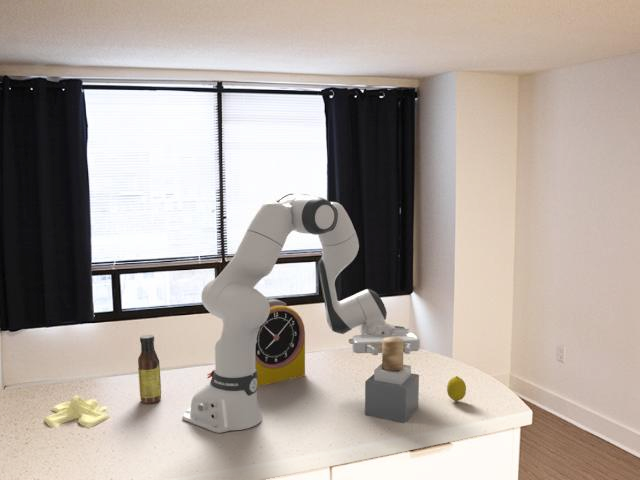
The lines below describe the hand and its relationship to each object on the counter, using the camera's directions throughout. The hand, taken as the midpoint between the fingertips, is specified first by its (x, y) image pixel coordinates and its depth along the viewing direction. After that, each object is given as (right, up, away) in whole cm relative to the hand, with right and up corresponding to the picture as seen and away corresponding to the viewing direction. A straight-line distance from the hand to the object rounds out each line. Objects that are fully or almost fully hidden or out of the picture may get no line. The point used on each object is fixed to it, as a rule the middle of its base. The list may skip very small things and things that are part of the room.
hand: (391, 351), depth 177 cm
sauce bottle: (-72, -16, +9) cm, 74 cm away
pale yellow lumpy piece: (-90, -18, 0) cm, 91 cm away
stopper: (0, -7, 0) cm, 7 cm away
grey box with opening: (0, -17, +1) cm, 17 cm away
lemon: (+20, -17, +8) cm, 27 cm away
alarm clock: (-37, -14, +28) cm, 48 cm away
